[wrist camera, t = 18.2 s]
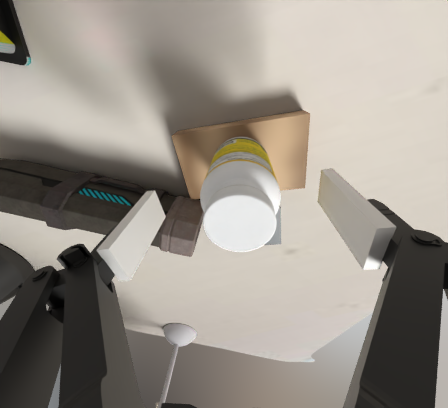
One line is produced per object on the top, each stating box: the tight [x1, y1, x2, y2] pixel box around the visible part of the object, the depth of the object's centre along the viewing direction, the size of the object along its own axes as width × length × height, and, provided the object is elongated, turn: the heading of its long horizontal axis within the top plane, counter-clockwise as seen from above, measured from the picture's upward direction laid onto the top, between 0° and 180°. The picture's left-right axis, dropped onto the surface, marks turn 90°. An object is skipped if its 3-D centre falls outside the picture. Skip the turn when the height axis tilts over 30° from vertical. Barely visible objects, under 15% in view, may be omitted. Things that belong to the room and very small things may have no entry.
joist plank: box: [172, 110, 310, 199], centre depth 22 cm, size 14×8×2 cm, turn 100°
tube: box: [0, 158, 204, 257], centre depth 25 cm, size 11×7×30 cm
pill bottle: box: [200, 137, 281, 252], centre depth 16 cm, size 6×6×11 cm
